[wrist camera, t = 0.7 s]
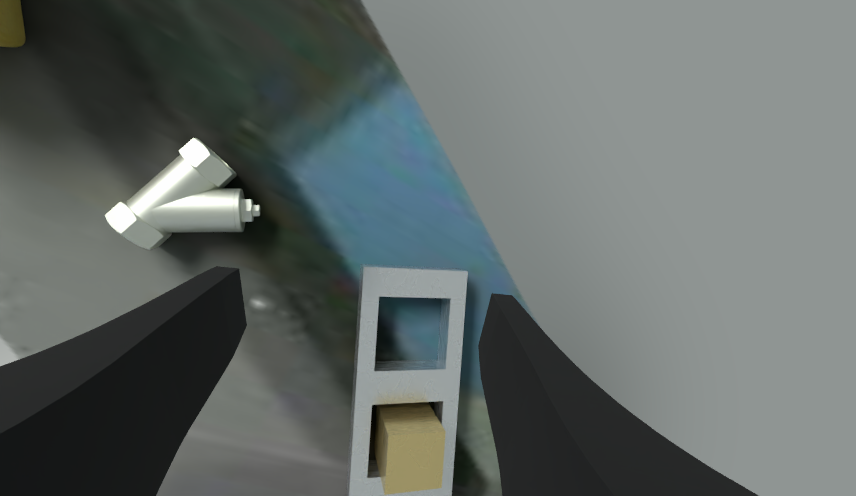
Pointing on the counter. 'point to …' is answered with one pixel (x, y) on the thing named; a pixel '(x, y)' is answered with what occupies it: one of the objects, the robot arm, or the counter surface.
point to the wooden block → (409, 447)
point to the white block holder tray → (405, 367)
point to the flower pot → (11, 24)
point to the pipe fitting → (184, 200)
